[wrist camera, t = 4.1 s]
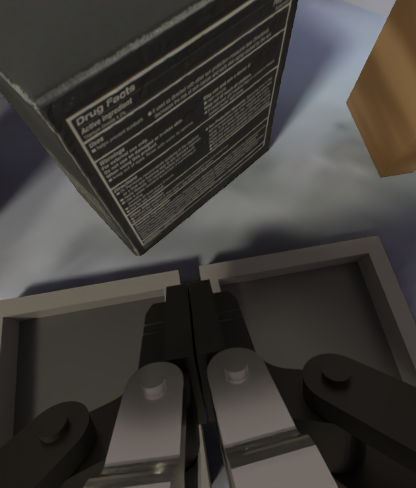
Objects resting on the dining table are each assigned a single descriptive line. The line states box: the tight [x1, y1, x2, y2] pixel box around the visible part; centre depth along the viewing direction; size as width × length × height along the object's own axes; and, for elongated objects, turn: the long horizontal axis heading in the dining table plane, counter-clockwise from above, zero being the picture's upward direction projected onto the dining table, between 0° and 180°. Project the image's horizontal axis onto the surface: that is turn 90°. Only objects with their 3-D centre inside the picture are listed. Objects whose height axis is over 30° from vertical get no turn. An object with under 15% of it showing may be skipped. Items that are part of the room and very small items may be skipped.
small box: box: [0, 0, 298, 256], centre depth 14 cm, size 11×6×10 cm, turn 133°
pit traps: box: [0, 235, 416, 488], centre depth 14 cm, size 19×9×2 cm, turn 100°
